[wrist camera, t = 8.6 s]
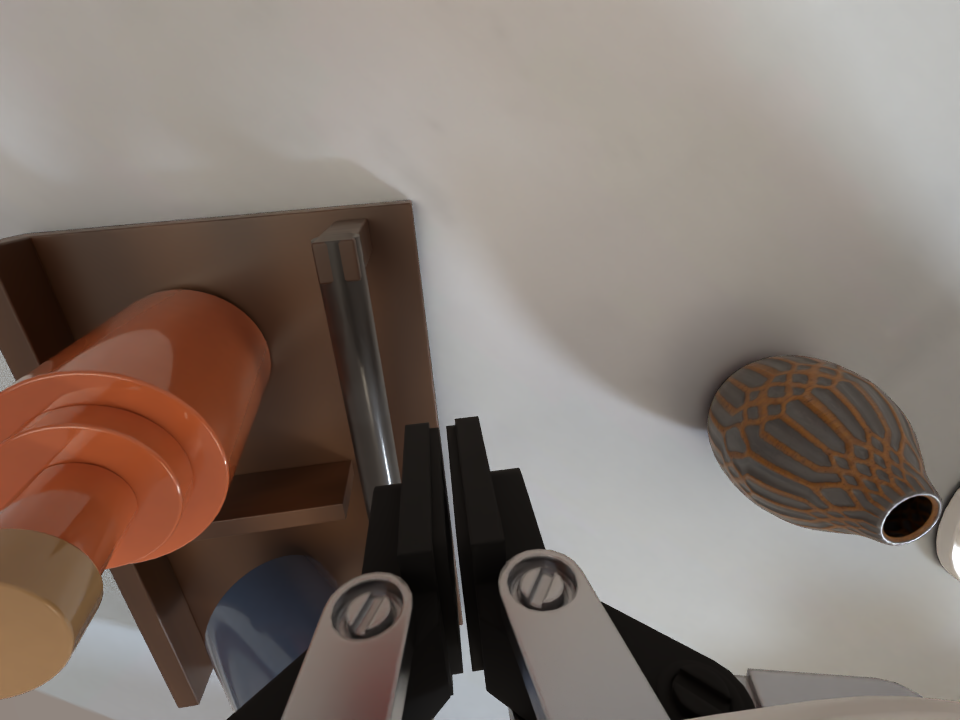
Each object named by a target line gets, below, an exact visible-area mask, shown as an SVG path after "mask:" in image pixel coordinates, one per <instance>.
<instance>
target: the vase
mask: <svg viewBox="0 0 960 720" xmlns="http://www.w3.org/2000/svg"><path fill="white" fill-rule="evenodd" d="M707 429H708V436H709V440H710V444H711V447H712V450H713V453H714V455H715V457H716V459H717V461H718V463H719V465H720V467H721V468H722V470H723V471H724V473H725V474H726V475H727V476H728V478H729V479H730V480H731V481H732V483H733V484H734V485H735V486H736V487H737V488H738V489H739V490H740V491H741V492H742V493H743V494H744V495H745V496H746V497H747V498H748V499H750V500H751V501H752V502H754V503H755V504H756V505H758V506H759V507H761V508H762V509H764V510H766V511H767V512H769V513H771V514H773V515H775V516H776V517H778V518H780V519H782V520H785V521H787V522H789V523H792V524H794V525H797V526H800V527H804V528H808V529H812V530H819V531H826V532H835V533H844V534H855V535H860V536H864V537H868V538H870V539H873V540H876V541H878V542H881V543H884V544H887V545H903V544H907V543H910V542H912V541H915V540H917V539H918V538H920V537H922V536H923V535H925V534H926V533H927V532H928V531H929V530H930V529H931V528H932V527H933V526H934V525H935V524H936V522H937V521H938V519H939V517H940V515H941V512H942V507H943V504H942V499H941V497H940V495H939V494H938V492H937V491H936V489H935V488H934V487H933V485H932V484H931V482H930V481H929V479H928V477H927V475H926V472H925V468H924V463H923V459H922V455H921V451H920V447H919V444H918V441H917V438H916V435H915V432H914V430H913V428H912V426H911V424H910V422H909V421H908V419H907V418H906V416H905V415H904V413H903V412H902V411H901V410H900V408H899V407H898V406H897V405H896V404H895V403H894V402H893V401H892V400H891V399H890V398H889V397H888V396H887V395H886V394H885V393H884V392H883V391H882V390H881V389H880V388H878V387H877V386H876V385H874V384H873V383H871V382H870V381H869V380H867V379H865V378H864V377H862V376H860V375H858V374H857V373H855V372H853V371H851V370H848V369H846V368H844V367H842V366H839V365H837V364H834V363H831V362H828V361H825V360H821V359H816V358H812V357H805V356H795V355H786V356H773V357H768V358H764V359H761V360H758V361H755V362H752V363H750V364H748V365H746V366H744V367H742V368H741V369H739V370H738V371H736V372H735V373H734V374H732V375H731V376H730V377H729V378H728V379H727V380H726V381H725V382H724V383H723V384H722V386H721V387H720V388H719V390H718V391H717V393H716V394H715V396H714V398H713V400H712V403H711V406H710V410H709V415H708V423H707Z"/></svg>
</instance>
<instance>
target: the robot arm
mask: <svg viewBox="0 0 960 720" xmlns="http://www.w3.org/2000/svg"><path fill="white" fill-rule="evenodd" d="M446 429H447V440H448V451H449V461H450V472H451V483H452V494H453V505H454V516H455V527H456V537H457V547H458V556H459V565H460V573H461V581H462V590H463V598H464V606H465V614H466V623H467V631H468V639H469V647H470V656H471V664H472V671H479V670H484V675H485V683H486V690H487V691H488V692H489V693H490V694H492V695H493V696H494V697H495V698H497V699H498V700H499V701H501V702H502V703H503V704H505V705H506V706H507V707H508V710H509V716H510V720H960V702H957V701H950V700H941V699H933V698H923V697H922V696H921V695H919V694H918V693H916V692H914V691H912V690H910V689H908V688H906V687H904V686H902V685H900V684H898V683H896V682H892V681H887V680H883V679H878V678H869V677H856V676H842V675H828V674H815V673H801V672H788V671H774V670H761V669H748V670H747V675H746V676H740V675H733V674H732V673H731V672H730V671H729V670H727V669H726V668H724V667H723V666H721V665H720V664H718V663H717V662H715V661H714V660H712V659H710V658H708V657H706V656H704V655H702V654H700V653H698V652H696V651H694V650H693V649H691V648H689V647H687V646H685V645H683V644H681V643H679V642H677V641H675V640H673V639H672V638H670V637H668V636H666V635H664V634H662V633H660V632H658V631H656V630H654V629H652V628H651V627H649V626H647V625H645V624H643V623H641V622H639V621H637V620H635V619H633V618H631V617H630V616H628V615H626V614H624V613H622V612H620V611H618V610H616V609H614V608H612V607H610V606H609V605H607V604H605V603H603V602H601V601H600V600H599V598H598V596H597V595H596V593H595V591H594V590H593V588H592V586H591V585H590V583H589V581H588V580H587V578H586V576H585V574H584V573H583V571H582V570H581V569H580V567H579V566H578V565H577V564H576V563H575V561H573V560H572V559H570V558H569V557H567V556H566V555H564V554H562V553H559V552H556V551H553V550H546V549H545V547H544V544H543V540H542V537H541V534H540V531H539V528H538V525H537V521H536V518H535V515H534V512H533V509H532V505H531V502H530V499H529V496H528V493H527V490H526V486H525V483H524V480H523V477H522V474H521V471H520V469H519V468H514V469H506V470H498V471H490V469H489V464H488V459H487V455H486V450H485V446H484V441H483V436H482V432H481V427H480V423H479V418H478V416H476V417H467V418H459V419H455V425H453V426H446ZM936 545H937V555H938V557H939V560H940V563H941V565H942V566H943V567H944V568H945V569H946V571H947V572H948V573H949V574H951V575H952V576H953V577H955V578H956V579H957V580H959V581H960V488H959V489H958V490H957V491H956V493H955V494H954V496H953V497H952V499H951V501H950V502H949V504H948V506H947V507H946V509H945V511H944V514H943V516H942V519H941V521H940V524H939V527H938V533H937V538H936ZM460 673H463V664H462V652H461V640H460V627H459V615H458V603H457V590H456V578H455V565H454V553H453V541H452V530H451V520H450V512H449V504H448V496H447V488H446V480H445V472H444V464H443V456H442V448H441V440H440V432H439V427H436V428H430V425H429V422H426V423H418V424H409V425H405V433H404V449H403V466H402V483H397V484H390V485H382V486H375V488H374V491H373V497H372V504H371V511H370V518H369V525H368V532H367V539H366V546H365V553H364V560H363V567H362V574H361V575H360V576H357V577H355V578H352V579H350V580H349V581H347V582H346V583H344V584H343V585H341V586H340V587H339V588H338V589H337V590H336V591H335V592H334V593H333V594H332V595H331V596H330V598H329V600H328V601H327V603H326V605H325V607H324V609H323V611H322V614H321V617H320V619H319V622H318V624H317V627H316V630H315V632H314V635H313V637H312V640H311V643H310V645H309V648H308V649H307V650H306V651H304V652H303V653H302V654H301V655H300V656H299V657H298V658H296V659H295V660H294V661H293V662H292V663H291V664H290V665H288V666H287V667H286V668H285V669H284V670H283V671H282V672H280V673H279V674H278V675H277V676H276V677H275V678H274V679H272V680H271V681H270V682H269V683H268V684H267V685H266V686H264V687H263V688H262V689H261V690H260V691H259V692H258V693H256V694H255V695H254V696H253V697H252V698H251V699H250V700H248V701H247V702H246V703H245V704H244V705H243V706H242V707H240V708H239V709H238V710H237V711H236V712H235V713H234V714H232V715H231V716H230V717H229V718H228V719H227V720H434V717H435V716H436V714H437V713H438V712H439V711H440V709H441V708H442V707H443V706H444V704H445V703H446V702H447V701H448V699H449V698H450V695H453V681H452V675H453V674H460Z"/></svg>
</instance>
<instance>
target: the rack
mask: <svg viewBox="0 0 960 720" xmlns="http://www.w3.org/2000/svg"><path fill="white" fill-rule="evenodd" d="M178 289H180V290H193V291H199V292H204V293H207V294H211V295H214V296H216V297H219V298H221V299H224V300H225V301H227V302H229V303H231V304H233V305H234V306H236V307H237V308H239V309H240V310H241V311H243V312H244V313H245V314H246V315H247V316H248V317H249V318H250V319H251V320H252V321H253V322H254V323H255V324H256V326H257V327H258V328H259V330H260V331H261V333H262V335H263V337H264V339H265V341H266V343H267V346H268V349H269V353H270V359H271V370H270V377H269V381H268V384H267V387H266V390H265V392H264V395H263V398H262V401H261V403H260V406H259V409H258V412H257V414H256V417H255V420H254V423H253V425H252V428H251V431H250V433H249V436H248V439H247V442H246V444H245V447H244V450H243V453H242V455H241V458H240V461H239V464H238V466H237V469H236V472H235V475H234V477H233V480H232V483H231V486H230V488H229V491H228V494H227V497H226V499H225V502H224V504H223V506H222V508H221V510H220V512H219V513H218V515H217V516H216V518H215V519H214V521H213V522H212V523H211V524H210V525H209V526H208V527H207V529H206V530H205V531H203V532H202V533H201V534H200V535H199V536H197V537H196V538H195V539H194V540H192V541H191V542H189V543H188V544H186V545H185V546H183V547H181V548H179V549H177V550H175V551H173V552H171V553H169V554H166V555H163V556H161V557H158V558H155V559H151V560H147V561H144V562H139V563H133V564H127V565H123V566H120V567H116V568H110V571H111V573H112V575H113V577H114V579H115V581H116V583H117V585H118V587H119V589H120V591H121V593H122V595H123V597H124V599H125V601H126V603H127V605H128V607H129V609H130V611H131V613H132V615H133V617H134V619H135V622H136V624H137V626H138V628H139V630H140V632H141V634H142V636H143V638H144V640H145V642H146V644H147V646H148V648H149V650H150V652H151V654H152V656H153V658H154V660H155V662H156V664H157V666H158V668H159V670H160V672H161V674H162V676H163V678H164V680H165V682H166V684H167V686H168V688H169V690H170V692H171V694H172V696H173V698H174V700H175V702H176V704H177V706H178V708H182V707H188V706H194V705H198V704H199V703H200V701H201V698H202V696H203V693H204V690H205V688H206V685H207V683H208V680H209V677H210V675H211V672H212V670H213V666H212V664H211V662H210V659H209V657H208V655H207V652H206V648H205V634H206V629H207V625H208V622H209V620H210V617H211V615H212V613H213V611H214V609H215V607H216V606H217V604H218V603H219V601H220V600H221V598H222V597H223V596H224V595H225V593H226V592H227V591H228V590H229V589H230V588H231V587H232V586H233V585H234V584H235V583H236V582H237V581H238V580H239V579H240V578H241V577H243V576H244V575H245V574H247V573H248V572H249V571H251V570H253V569H254V568H256V567H257V566H259V565H261V564H263V563H265V562H267V561H270V560H272V559H275V558H279V557H282V556H287V555H305V556H309V557H312V558H314V559H316V560H318V561H319V562H321V563H322V564H323V566H324V567H325V568H326V569H327V570H328V571H329V572H330V574H331V575H332V576H333V577H334V578H335V579H336V580H337V582H338V583H339V584H340V585H343V584H344V583H346V582H347V581H349V580H350V579H352V578H355V577H357V576H360V575H361V574H362V567H363V560H364V553H365V546H366V539H367V532H368V525H369V518H370V511H371V504H372V497H373V491H374V488H375V486H382V485H390V484H397V483H402V466H403V449H404V433H405V425H409V424H418V423H426V422H429V425H430V428H436V427H439V422H438V414H437V406H436V397H435V389H434V381H433V373H432V365H431V357H430V348H429V340H428V332H427V324H426V316H425V308H424V299H423V291H422V283H421V275H420V267H419V258H418V250H417V242H416V234H415V226H414V218H413V209H412V202H411V200H404V201H393V202H381V203H370V204H358V205H347V206H335V207H324V208H313V209H301V210H290V211H278V212H267V213H256V214H244V215H233V216H221V217H210V218H199V219H187V220H176V221H164V222H153V223H142V224H130V225H119V226H107V227H96V228H85V229H73V230H62V231H50V232H39V233H27V234H22V235H17V236H12V237H8V238H3V239H0V350H1V352H2V354H3V356H4V358H5V360H6V362H7V364H8V366H9V368H10V370H11V372H12V374H13V376H14V378H15V380H16V381H17V380H19V379H20V378H22V377H23V376H25V375H26V374H28V373H29V372H30V371H32V370H33V369H35V368H36V367H38V366H39V365H41V364H42V363H44V362H45V361H47V360H48V359H50V358H51V357H53V356H54V355H56V354H57V353H59V352H60V351H62V350H63V349H65V348H66V347H68V346H69V345H71V344H72V343H74V342H75V341H76V340H78V339H79V338H81V337H82V336H84V335H85V334H87V333H88V332H90V331H91V330H93V329H94V328H96V327H97V326H99V325H100V324H102V323H103V322H105V321H106V320H108V319H109V318H111V317H112V316H114V315H115V314H117V313H118V312H120V311H121V310H123V309H124V308H125V307H127V306H128V305H130V304H131V303H133V302H135V301H136V300H138V299H140V298H142V297H144V296H146V295H149V294H153V293H156V292H160V291H166V290H178ZM439 432H440V430H439ZM440 440H441V438H440ZM441 448H442V447H441ZM442 456H443V455H442ZM443 464H444V463H443ZM444 472H445V471H444ZM445 480H446V479H445ZM446 488H447V487H446ZM451 530H452V528H451ZM452 541H453V536H452ZM453 553H454V545H453ZM454 565H455V578H456V590H457V603H458V615H459V625H462V624H463V620H462V611H461V602H460V594H459V586H458V577H457V569H456V561H455V553H454Z"/></svg>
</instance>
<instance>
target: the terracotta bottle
mask: <svg viewBox="0 0 960 720" xmlns="http://www.w3.org/2000/svg"><path fill="white" fill-rule="evenodd" d="M270 370H271V359H270V353H269V349H268V346H267V343H266V341H265V339H264V337H263V335H262V333H261V331H260V330H259V328H258V327H257V326H256V324H255V323H254V322H253V321H252V320H251V319H250V318H249V317H248V316H247V315H246V314H245V313H244V312H243V311H241V310H240V309H239V308H237V307H236V306H234V305H233V304H231V303H229V302H227V301H225V300H224V299H221V298H219V297H216V296H214V295H211V294H207V293H204V292H199V291H193V290H180V289H178V290H166V291H160V292H156V293H153V294H149V295H146V296H144V297H142V298H140V299H138V300H136V301H135V302H133V303H131V304H130V305H128V306H127V307H125V308H124V309H123V310H121V311H120V312H118V313H117V314H115V315H114V316H112V317H111V318H109V319H108V320H106V321H105V322H103V323H102V324H100V325H99V326H97V327H96V328H94V329H93V330H91V331H90V332H88V333H87V334H85V335H84V336H82V337H81V338H79V339H78V340H76V341H75V342H74V343H72V344H71V345H69V346H68V347H66V348H65V349H63V350H62V351H60V352H59V353H57V354H56V355H54V356H53V357H51V358H50V359H48V360H47V361H45V362H44V363H42V364H41V365H39V366H38V367H36V368H35V369H33V370H32V371H30V372H29V373H28V374H26V375H25V376H23V377H22V378H20V379H19V380H17V381H16V382H14V383H13V384H11V385H10V386H8V387H7V388H5V389H4V390H2V391H1V392H0V700H1V699H5V698H11V697H14V696H17V695H21V694H24V693H26V692H29V691H31V690H34V689H36V688H37V687H39V686H41V685H43V684H45V683H46V682H48V681H49V680H51V679H52V678H53V677H54V676H55V675H57V674H58V673H59V672H60V671H61V670H62V669H63V668H64V667H65V665H66V664H67V663H68V661H69V659H70V658H71V656H72V654H73V653H74V651H75V649H76V647H77V645H78V644H79V642H80V640H81V638H82V636H83V635H84V633H85V631H86V629H87V627H88V626H89V624H90V622H91V620H92V618H93V617H94V615H95V613H96V611H97V610H98V608H99V605H100V603H101V601H102V596H103V582H102V577H101V575H102V573H103V571H104V570H105V569H110V568H116V567H120V566H123V565H127V564H133V563H139V562H144V561H147V560H151V559H155V558H158V557H161V556H163V555H166V554H169V553H171V552H173V551H175V550H177V549H179V548H181V547H183V546H185V545H186V544H188V543H189V542H191V541H192V540H194V539H195V538H196V537H197V536H199V535H200V534H201V533H202V532H203V531H205V530H206V529H207V527H208V526H209V525H210V524H211V523H212V522H213V521H214V519H215V518H216V516H217V515H218V513H219V512H220V510H221V508H222V506H223V504H224V502H225V499H226V497H227V494H228V491H229V488H230V486H231V483H232V480H233V477H234V475H235V472H236V469H237V466H238V464H239V461H240V458H241V455H242V453H243V450H244V447H245V444H246V442H247V439H248V436H249V433H250V431H251V428H252V425H253V423H254V420H255V417H256V414H257V412H258V409H259V406H260V403H261V401H262V398H263V395H264V392H265V390H266V387H267V384H268V381H269V377H270Z"/></svg>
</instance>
